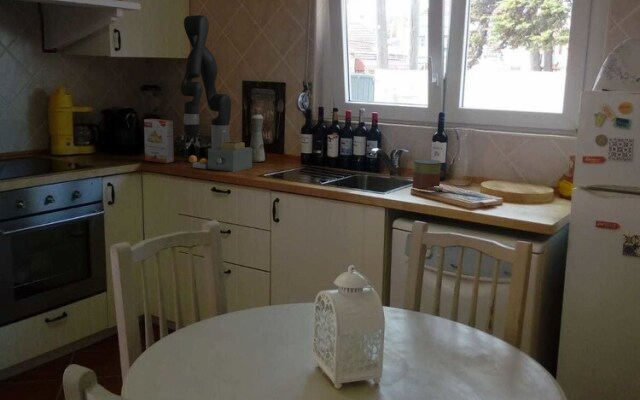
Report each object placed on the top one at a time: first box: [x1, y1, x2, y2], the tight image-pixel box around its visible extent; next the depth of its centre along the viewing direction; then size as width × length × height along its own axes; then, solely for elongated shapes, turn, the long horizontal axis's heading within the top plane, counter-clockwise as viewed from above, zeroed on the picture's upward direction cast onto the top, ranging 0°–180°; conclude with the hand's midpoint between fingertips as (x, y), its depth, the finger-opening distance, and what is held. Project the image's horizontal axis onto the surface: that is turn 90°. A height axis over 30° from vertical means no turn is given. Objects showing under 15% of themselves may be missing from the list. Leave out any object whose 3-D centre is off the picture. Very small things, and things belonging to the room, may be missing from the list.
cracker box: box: [143, 118, 175, 164], centre depth 329 cm, size 14×6×21 cm, turn 62°
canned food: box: [411, 158, 442, 189], centre depth 275 cm, size 11×11×12 cm
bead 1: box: [188, 154, 198, 164], centre depth 327 cm, size 4×4×4 cm
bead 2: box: [198, 158, 208, 164], centre depth 314 cm, size 4×4×4 cm
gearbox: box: [207, 140, 253, 174], centre depth 311 cm, size 18×14×12 cm
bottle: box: [249, 106, 266, 163], centre depth 337 cm, size 9×9×28 cm
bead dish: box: [192, 161, 208, 170], centre depth 314 cm, size 7×7×2 cm
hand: (191, 155), depth 327 cm, fingers open, 8 cm apart
